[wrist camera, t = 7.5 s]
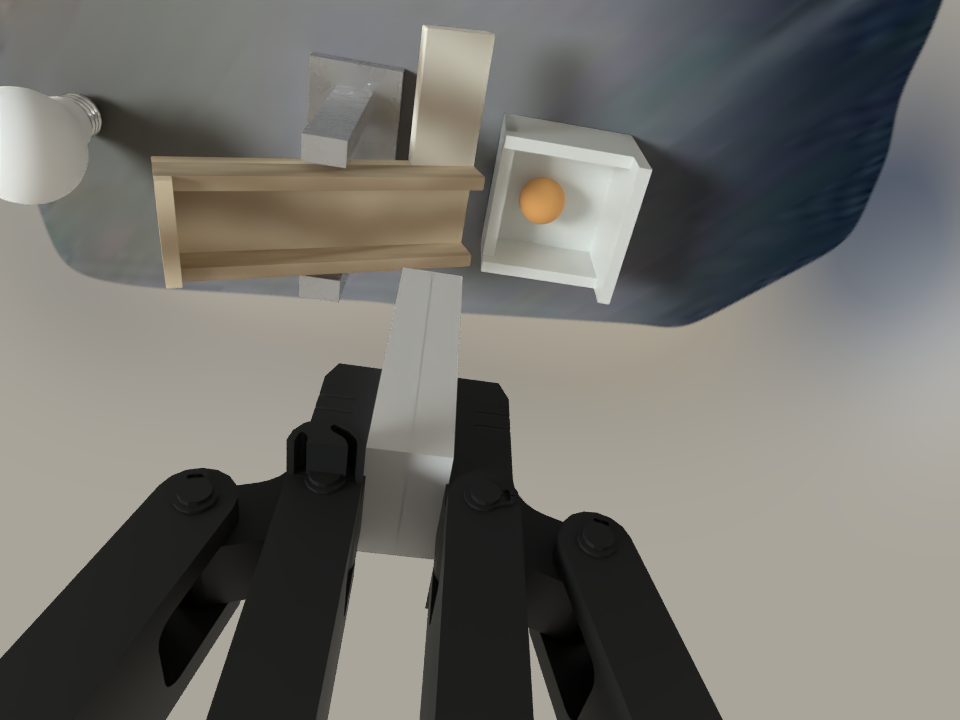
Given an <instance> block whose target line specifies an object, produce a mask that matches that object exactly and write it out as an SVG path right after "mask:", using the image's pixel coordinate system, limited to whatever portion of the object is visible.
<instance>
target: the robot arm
mask: <svg viewBox="0 0 960 720" xmlns="http://www.w3.org/2000/svg"><path fill="white" fill-rule="evenodd" d="M462 278H463V276H457V275H450V274H444V273H437V272H430V271H424V270H417V269H410V268H403V271H402V276H401V281H400V285H399V290H398V295H397V300H396V305H395V310H394V315H393V320H392V325H391V329H390V334H389V339H388V344H387V348H386V353H385V358H384V363H383V368H382V369H377V368H370V367H362V366H355V365H347V364H338V365H337V366H336V367H335V368H334V369H333V370H332V371H330V372H329V373H328V374H327V375H326V376H325V378H324V381H323V385H322V388H321V391H320V395H319V397H318V400H317V403H316V408H315V410H314V413H313V416H312V419H311V421H310V422H306V423H303V424H302V425H300V426H299V427H297V428H296V429H294V430H293V431H292V433H291V434H290V435H289V437H288V439H287V472H285V473H284V474H282V475H281V476H279V477H276V478H274V479H271V480H268V481H263V482H259V483H252V484H244V485H236V484H235V483H234V481H233V480H232V479H231V477H230V476H228V475H226V474H224V473H222V472H220V471H219V470H213V469H206V468H199V469H190V470H185V471H182V472H180V473H177V474H175V475H172V476H171V477H169V478H168V479H167V480H165V481H164V482H163V483H162V484H160V485H159V486H158V487H157V488H156V489H155V491H154V492H153V493H152V494H151V495H150V496H149V497H148V498H147V499H146V500H145V501H144V503H143V504H142V505H141V506H140V507H139V508H138V509H137V510H136V511H135V512H134V513H133V514H132V516H131V517H130V518H129V519H128V520H127V521H126V522H125V523H124V524H123V525H122V526H121V528H120V529H119V530H118V531H117V532H116V533H115V534H114V535H113V536H112V537H111V538H110V540H109V541H108V542H107V543H106V544H105V545H104V546H103V547H102V548H101V549H100V550H99V552H98V553H97V554H96V555H95V556H94V557H93V558H92V559H91V560H90V561H89V563H88V564H87V565H86V566H85V567H84V568H83V569H82V570H81V571H80V572H79V573H78V574H77V576H76V577H75V578H74V579H73V580H72V581H71V582H70V583H69V585H68V586H66V588H65V589H64V590H63V591H62V592H61V593H60V594H59V595H58V596H57V597H56V598H55V600H54V601H53V602H52V603H51V604H50V605H49V606H48V607H47V608H46V610H44V612H43V613H42V614H41V615H40V616H39V617H38V618H37V619H36V620H35V621H34V623H33V624H32V625H31V626H30V627H29V628H28V629H27V630H26V631H25V632H24V633H23V634H22V636H21V637H20V638H19V639H18V640H17V641H16V642H15V643H14V644H13V646H11V648H10V649H9V650H8V651H7V652H6V653H5V654H4V655H3V656H2V657H1V659H0V720H166V718H167V717H168V715H169V713H170V712H171V711H172V709H173V707H174V706H175V704H176V703H177V701H178V700H179V698H180V696H181V695H182V693H183V692H184V690H185V689H186V687H187V685H188V684H189V682H190V681H191V679H192V677H193V676H194V675H195V672H196V671H197V670H198V668H199V667H200V665H201V663H202V662H203V660H204V659H205V657H206V656H207V654H208V653H209V651H210V649H211V648H212V646H213V645H214V643H215V642H216V640H217V638H218V637H219V635H220V634H221V632H222V631H223V629H224V627H225V626H226V624H227V623H228V621H229V620H230V618H231V616H232V615H233V613H234V612H235V610H236V609H237V607H238V606H239V603H240V601H241V600H244V599H246V600H245V603H244V606H243V609H242V612H241V615H240V618H239V621H238V624H237V627H236V631H235V634H234V637H233V640H232V643H231V646H230V649H229V652H228V655H227V658H226V661H225V664H224V667H223V670H222V673H221V676H220V679H219V682H218V685H217V689H216V691H215V695H214V698H213V701H212V704H211V707H210V710H209V713H208V716H207V719H206V720H327V719H328V714H329V708H330V703H331V697H332V692H333V686H334V681H335V675H336V670H337V664H338V659H339V653H340V648H341V642H342V637H343V631H344V626H345V620H346V615H347V609H348V604H349V598H350V593H351V587H352V582H353V577H354V566H355V557H356V552H357V551H361V552H370V553H379V554H388V555H397V556H407V557H416V558H425V559H434V568H433V572H432V577H431V583H430V587H429V593H428V597H427V603H426V607H425V608H427V609H428V619H427V632H426V645H425V658H424V671H423V685H422V696H421V697H422V698H421V709H420V720H534V718H533V703H532V684H531V668H530V651H529V634H528V627H529V632H530V636H531V638H532V642H533V645H534V648H535V651H536V654H537V657H538V661H539V664H540V667H541V670H542V673H543V677H544V680H545V683H546V686H547V689H548V692H549V696H550V699H551V702H552V705H553V708H554V711H555V714H556V718H557V720H723V719H722V717H721V715H720V714H719V712H718V710H717V708H716V706H715V704H714V702H713V700H712V698H711V696H710V694H709V692H708V690H707V688H706V686H705V684H704V682H703V680H702V678H701V676H700V674H699V672H698V670H697V668H696V666H695V664H694V662H693V660H692V658H691V656H690V654H689V652H688V650H687V648H686V646H685V644H684V642H683V640H682V638H681V637H680V635H679V632H678V630H677V629H676V627H675V624H674V623H673V621H672V619H671V617H670V615H669V613H668V611H667V609H666V607H665V605H664V603H663V601H662V599H661V597H660V595H659V593H658V591H657V589H656V587H655V585H654V583H653V581H652V579H651V577H650V575H649V573H648V571H647V569H646V567H645V565H644V563H643V561H642V559H641V557H640V555H639V553H638V551H637V549H636V547H635V545H634V543H633V542H632V539H631V538H630V536H629V535H628V534H627V532H626V531H625V530H624V528H623V527H622V526H621V525H619V524H618V523H617V522H615V521H614V520H613V519H611V518H609V517H607V516H604V515H601V514H599V513H593V512H580V513H576V514H573V515H571V516H569V517H568V518H567V519H566V520H565V521H564V522H562V521H559V520H557V519H554V518H552V517H549V516H546V515H544V514H542V513H540V512H538V511H536V510H534V509H533V508H531V507H530V506H529V505H527V504H526V503H525V502H524V501H523V500H522V499H521V497H520V496H519V495H518V492H517V490H516V489H515V488H514V483H513V475H512V457H511V437H510V419H509V399H508V398H507V396H506V394H505V393H504V391H503V390H502V388H501V386H500V385H499V384H498V383H492V382H485V381H477V380H469V379H462V378H458V360H459V339H460V318H461V299H462Z"/></svg>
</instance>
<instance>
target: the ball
mask: <svg viewBox="0 0 960 720" xmlns="http://www.w3.org/2000/svg"><path fill="white" fill-rule="evenodd" d="M519 205H520V209H521V211H522V213H523V215H524V216H525V217H526V218H527V219H528V220H529V221H531V222H533V223H536V224H547V223H550V222H552V221H554V220H556V219H557V218H558V217H559V216H560V214H561V213H562V211H563V209H564V206H565V195H564V191H563V189H562V188H561V186H560V185H559V184H558V183H557V182H556V181H554V180H552V179H550V178H546V177H539V178H535V179H533V180H531V181H529V182H528V183H527V184H526V185H525V186H524V187H523V189H522V191H521V193H520V198H519Z"/></svg>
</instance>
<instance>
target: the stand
mask: <svg viewBox="0 0 960 720" xmlns="http://www.w3.org/2000/svg"><path fill="white" fill-rule="evenodd" d="M404 70H405V69H403V68H397V67H392V66H386V65H381V64H375V63H369V62H364V61H358V60H352V59H347V58H341V57H336V56H330V55H324V54H319V53H312V54H311V55H310V56H309V105H308V125H307V126H306V128H305V129H304V131H303V132H302V137H301V161H304V162H310V163H316V164H322V165H328V166H335V167H341V168H346V167H347V165H348V163H349V161H350V159H352V160H396V153H397V143H398V133H399V122H400V112H401V102H402V91H403V81H404ZM348 274H349V273H337V274H319V275H301V276H300V278H299V297H304V298H311V299H318V300H325V301H332V302H339V300H340V297H341V295H342V292H343V289H344V286H345V283H346V280H347V277H348Z"/></svg>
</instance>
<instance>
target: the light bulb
mask: <svg viewBox="0 0 960 720" xmlns="http://www.w3.org/2000/svg"><path fill="white" fill-rule="evenodd" d="M101 127H102V116H101V112H100V110H99V108H98V107H97V105H96V104H95V103H94V102H93V101H92V100H91V99H90V98H88V97H86V96H84V95H82V94H77V93H65V94H63V95H60V96H58V97H48V96H46V95H44V94H42V93H40V92H37V91H34V90H32V89H27V88H22V87H14V86H1V87H0V198H1V199H4V200H7V201H10V202H15V203H22V204H27V205H31V204H32V205H35V204H44V203H49V202H53V201H56V200H58V199H60V198H62V197H64V196H66V195H68V194H69V193H70V192H71V191H73V190H74V189H75V188H76V187H77V186H78V185H79V183H80V182H81V180H82V179H83V177H84V175H85V172H86V168H87V165H88V157H89V153H88V146H87V144H88V143H89V141H90V139H91V138H92V137H94V136H95V135H97V134H98V133H99V131H100V130H101Z"/></svg>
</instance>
